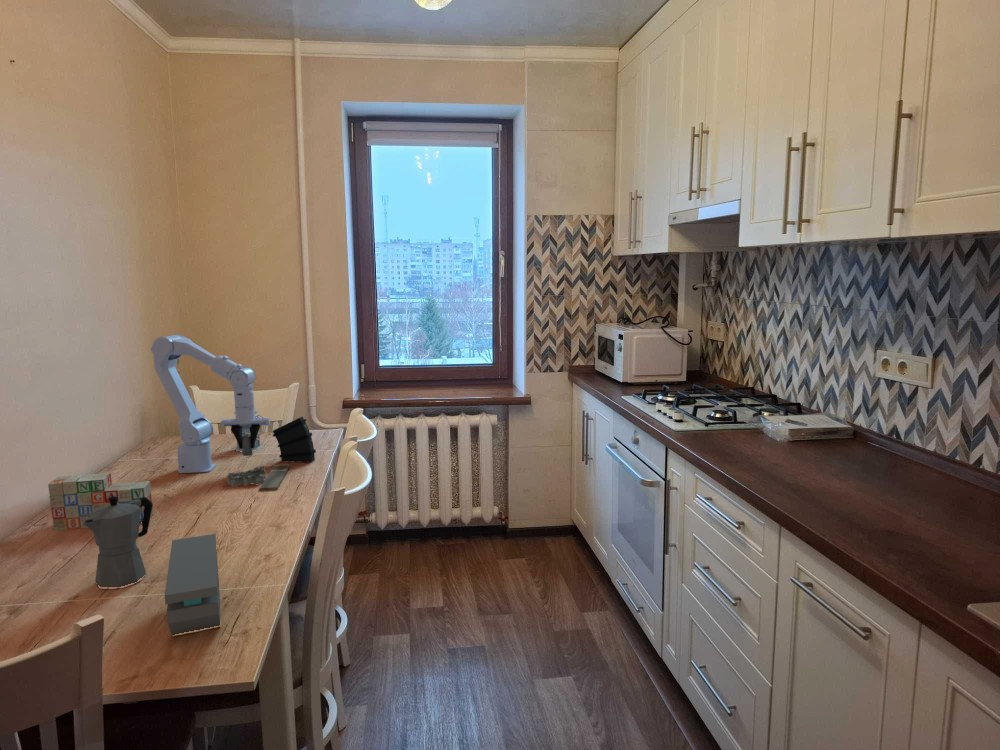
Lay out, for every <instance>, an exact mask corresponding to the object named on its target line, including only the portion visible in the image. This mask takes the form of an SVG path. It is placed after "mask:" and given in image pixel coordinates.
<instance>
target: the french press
mask: <svg viewBox="0 0 1000 750" xmlns="http://www.w3.org/2000/svg"><path fill="white" fill-rule="evenodd" d="M254 411H255V414H257V413H258V412H259V410H258V409H257V408H255V407H254ZM233 413H234V414H235V411H234V412H233ZM255 418H264V417H263V416H261V415H259V414H257V415H255ZM250 427H251V426H242V436H244V433H248V435H251V434H250ZM266 428H267V426H266V425H262V431H261V432H260V430H259V431H258V434H257V437H256V441H255V447H254V448H252V451H253V450H258V449H260V448H261V447H262V446H263V445H262V444H261V442H260V438H261V437H260V436H261V435H263V434H264V433H265V431H266V430H267V429H266ZM235 450H237V451H242V449H239V445H238V442H237V441H236V447H235V449H234V451H235ZM258 451H259V450H258ZM253 452H254V451H253Z"/></svg>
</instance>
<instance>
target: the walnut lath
mask: <svg viewBox="0 0 1000 750" xmlns="http://www.w3.org/2000/svg"><path fill="white" fill-rule="evenodd" d="M289 467H290V468H291V464H289V463H287V464H274V465H273V466H272V467H271V469H270V471H269V473H268V474H267V475H266V476H265V480H264V482H263V483H261V484H260V487H259V491H260V492H263V491H262V490H266V491H278V490H279V488H280V487H281V485H282V483H283V481H284V479H285V478H286V475H287V473H288V472H287V471H289V470H288V469H290V468H289ZM283 478H284V479H283ZM282 480H283V481H282ZM281 482H282V483H281ZM280 484H281V485H280ZM277 489H278V490H277Z"/></svg>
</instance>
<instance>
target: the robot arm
mask: <svg viewBox="0 0 1000 750" xmlns="http://www.w3.org/2000/svg"><path fill="white" fill-rule="evenodd" d="M150 350H151V353H152V355H153V364H154V365H153V367H154V370H155V372H156V373H157V376H158V378H159V380H160V381H161V384H162V385H163V388H164V390H165V391H166V394H167V395H168V397H169V399H170V401H171V404H172V405H173V407H174V409H175V411H176V413H177V414H178V417H179V420H178V425H177V427H178V429H179V436H180V439H181V441H182V442H183V443H179V444H178V446H177V463H178V471H177V472H178V474H187V473H188V474H190V473H191V474H192V473H209V472H211V471H212V470H213V469H214V468H215V466H216V465H217V463H213V462H212V451H211V436H212V435H213V433H214V426H213V423H212V422H211V421H209V420H208V419H207V418H206V416H205V414H203V413H202V412H200V411H198V409H197V407H196V406H195V404H194V402H193V400H192V398H191V396H190V394H189V392H188V390H187V387H186V386H185V384H184V382H183V380H182V378H181V375H180V374H179V373H178V370H177V368H176V365H177V363H178V360H179V359H180V358H181V357H182V356H184V355H185V356H189V357H191V358H194V359H195V360H197V361H199V362H201V363H203V364H205V365H207V366H209V368H210V370H211V372H213V373H214V374H216V375H218V376H220V377H222V378H224V379H225V380H227V381H229V383H230V385H231V387H233V394H234V395H233V397H234V410H235V411H234V412H235V413H234V415H235V418H231V419H221V420H220V428H225V427H231V428H230V431H231V433H232V434H233V436H234V437H235V440H236V443H237V442H238V445H239V449H242V438H241V436H242V433H243V432H242V426H251V427H250V433H249V434H251V448H254V447H255V441H256V437H257V436H258V435H257V434H258V431H259V432H260V428H261V426H263V425H264V426H265V425H266V427H267V426H270V425H271V418H269V417H267V418H264V417H263V418H262V417H259V418H257V417H256V418H255V416H256V415H255V414H256V413H255V411H254V408H255V397H254V382H255V381H256V378H257V377H256V376H257V375H256V372H255V371H254V369H252V368H251V367H249V366H242V364H241V363H238V364H237V363H236V362H235V361H233V360H231V359H230V358H229V356H227V355H218V356H216V355H214V354H212V353H211V352H209V351H208V350H206V349H205V348H203V347H201V346H200V345H198V344H197V343H194V342H193V341H192V340H191V339H190V338H189V337H185V336H183V335H182V334H179V333H177V334H176V333H175V334H173V335H168V336H159V337H157V338H156V339H154V341H153V343H152V345H151V347H150Z"/></svg>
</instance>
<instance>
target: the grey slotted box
mask: <svg viewBox="0 0 1000 750" xmlns="http://www.w3.org/2000/svg"><path fill="white" fill-rule="evenodd" d="M219 578H220V577H219V563H218V551H217V535H216V533H212V534H206V535H198V536H192V537H184V538H178V539H172V541H171V546H170V555H169V562H168V570H167V575H166V581H165V582H166V583H165V589H164V590H165V591H164V604H165V605H166V618H167V625H168V629H169V632H170V635H171V636H172V635H175V634H179V633H184V632H189V631H194V630H200V629H204V628H210V627H214V626H219V625H220V618H221V598H220V597H221V596H220V579H219Z"/></svg>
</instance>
